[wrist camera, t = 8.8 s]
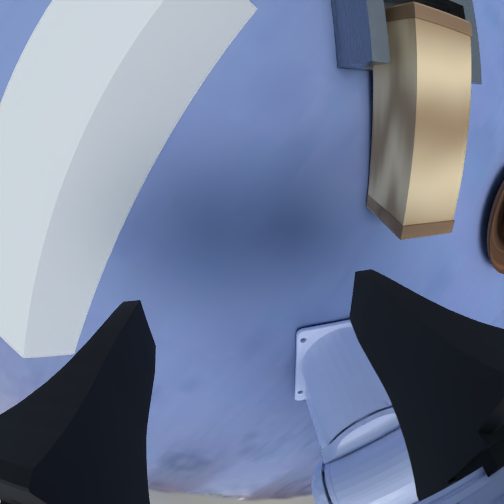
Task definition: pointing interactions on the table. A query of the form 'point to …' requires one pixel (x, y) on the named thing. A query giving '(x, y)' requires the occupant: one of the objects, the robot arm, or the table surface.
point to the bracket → (375, 31)
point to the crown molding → (90, 146)
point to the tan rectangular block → (420, 121)
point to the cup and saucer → (496, 231)
